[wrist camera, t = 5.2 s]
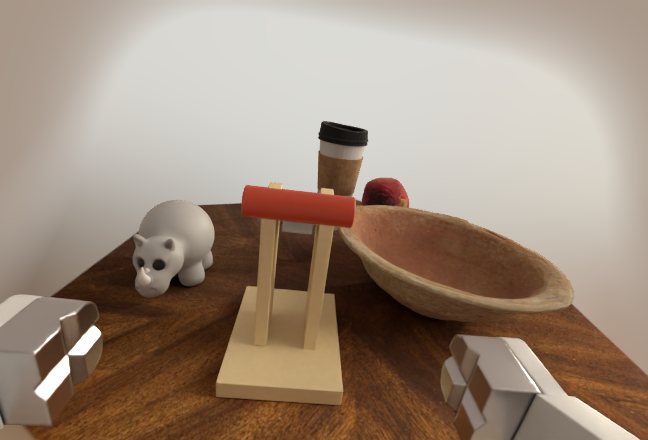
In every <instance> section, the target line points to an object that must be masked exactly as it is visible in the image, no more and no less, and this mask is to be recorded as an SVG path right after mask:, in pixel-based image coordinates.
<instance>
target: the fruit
mask: <svg viewBox="0 0 648 440" xmlns="http://www.w3.org/2000/svg"><path fill="white" fill-rule="evenodd" d="M367 205H387V206H399V207H407V208H409V199H408V196H407V193H406V191H405V189H404V187H403V186H402V184H401V183H400V182H399V181H398V180H396V179H393V178H376V179H374V180H372V181H369V182H368V183H367V184H366V187H365V189H364V193H363V198H362V206H367Z"/></svg>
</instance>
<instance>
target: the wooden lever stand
mask: <svg viewBox="0 0 648 440" xmlns="http://www.w3.org/2000/svg"><path fill="white" fill-rule="evenodd" d="M282 187H283V184H281V183H272V182H271V183H270V185H269V187H268V188H276V189H282ZM320 193H321V194H329V195H334V191H333V189H326V188H321V191H320ZM257 222H261V234H260V250H259V266H258V282H257V287H251V286H247V287H246V291H245V294H244V297H243V300H242V303H241V306H240V309H239V312H238V315H237V318H236V322H235V325H234V328H233V331H232V334H231V337H230V340H229V343H228V346H227V350H226V353H225V356H224V359H223V362H222V365H221V368H220V371H219V374H218V378H217V381H216V397H225V398H240V399H255V400H269V401H284V402H299V403H313V404H328V405H341V400H342V395H343V385H342V374H341V363H340V352H339V341H338V330H337V319H336V308H335V297H334V294H328V293H324V289H325V283H326V276H327V269H328V263H329V256H330V250H331V243H332V236H333V230H338V227H335V226H326V225H317V224H316V230H315V238H314V245H313V253H312V261H311V269H310V277H309V284H308V292H306V291H295V290H284V289H274V284H275V272H276V260H277V248H278V236H279V224H280V221H279V220H269V219H260V218H257Z"/></svg>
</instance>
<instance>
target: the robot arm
mask: <svg viewBox="0 0 648 440" xmlns="http://www.w3.org/2000/svg"><path fill="white" fill-rule="evenodd" d="M98 318H99V313H98V308H97V305H96V304H94V303H93V302H91V301H82V300H73V299H64V298H55V297H46V296H45V297H41V296H32V295H23V294H19V295H15V296H11V297H9V298H8V299H7V300H5V301H4V302H3V303H1V304H0V430H1V429H2V428H3V427H4V425H33V426H52V425H53V424H54V423H55V421H56V420H57V419H58V417H59V416H60V415H61V413H62V412H63V411H64V410H65V408H66V407H67V406H68V404H69V403H70V402H71V400H72V399H73V398H74V386H75V385H77V384H79V383H81V382H82V381H84V380H86V379H87V378H89V376H90V375H91V373H92V372H93V371H94V369H95V368H96V366H97V364H98V361H99V359H100V356H101V354H102V347H103V339H102V333H101V332H100V331H99V330H98V329H97V328H96V327H95V326H94V323H95V322H96V321H97V320H98ZM449 348H450V350H451V352H452V356H451V357H449V358H448V359H447V360H446V361H444V363H443V367H442V370H441V389H442V394H443V397H444V400H445V402H446V404H447V405H448V406H449V407H450V408H451V409H452V410H453V411H454V412H455V413H456V417H455V420H454V425H455V427H456V430H457V432H458V435H459V437H460V439H461V440H639V439H638V438H636V437H635V436H633V435H632V434H630V433H629V432H627V431H626V430H624V429H623V428H621V427H620V426H618V425H617V424H615V423H614V422H612V421H611V420H609V419H608V418H606V417H605V416H603V415H602V414H600V413H599V412H597V411H596V410H594V409H592V408H591V407H589V406H588V405H586V404H585V403H583V402H582V401H580V400H579V399H577V398H576V397H571V396H567V395H566V393H565V392H564V391H563V389H562V388H561V387H560V386H559V384H558V383H557V382H556V381H555V379H554V378H553V377H552V376H551V374H550V373H549V372H548V371H547V369H546V368H545V367H544V366H543V364H542V363H541V362H540V361H539V359H538V358H537V357H536V356H535V354H534V353H533V352H532V351H531V349H530V348H529V347H528V346H527V344H526V343H525V342H524V341H522V340H520V339H519V338H505V337H497V338H496V337H485V336H472V335H460V334H456V335H455V336H454V337H453V338H452V340H451V343H450V346H449Z"/></svg>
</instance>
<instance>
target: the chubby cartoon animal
mask: <svg viewBox="0 0 648 440" xmlns="http://www.w3.org/2000/svg"><path fill="white" fill-rule="evenodd" d="M133 238H134V242H135V245H136V249H135V251H134V254H133V265H134V267H135V269H136V270H137V276H136V279H135V288H136V290H137V291H138V292H139V293H140V294H141V295H142V296H144V297H147V298H153V297H157V296H160V295H162V294H163V293H164V292H165V291H166V290H167V289H168V287H169V284H170V280H171V279H172V277H174V276H175V275H176V274H177V273H178V272H179V273H178V276H179V281H180V282H181V283H182V284H183V285H185V286H195V285H198V284H200V283H201V282H202V281H203V280H204V277H205V272H204V270H205V269H207V268H209V267H210V266H211V265H212V263H213V257H212V253H211V251H210V250H211V248H212V245H213V241H214V227H213V224H212V221H211V219H210V218H209V216H208V215H207V213H206V212H205V211H204V210H203V209H201V208H200V207H199V206H197V205H195V204H193V203H191V202H187V201H182V200H172V201H167V202H164V203H161V204H159V205H157V206H155V207H154V208H152V209H151V210H150V211H149V212H148V213H147V214H146V216H145V217H144V219H143V220H142V222H141V225H140V228H139V235H138V234H134V235H133Z"/></svg>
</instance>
